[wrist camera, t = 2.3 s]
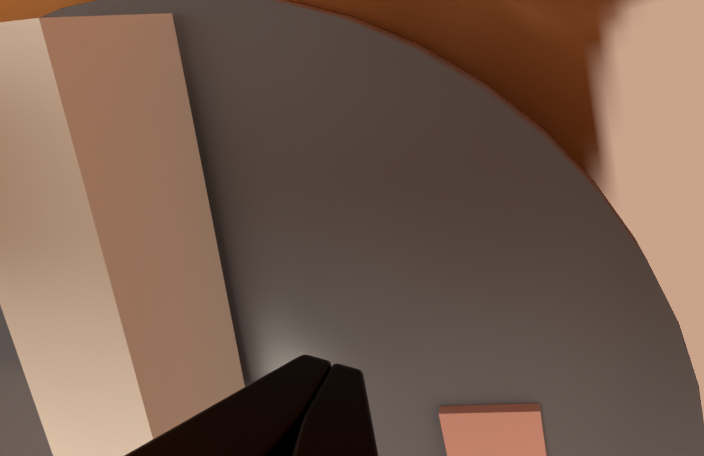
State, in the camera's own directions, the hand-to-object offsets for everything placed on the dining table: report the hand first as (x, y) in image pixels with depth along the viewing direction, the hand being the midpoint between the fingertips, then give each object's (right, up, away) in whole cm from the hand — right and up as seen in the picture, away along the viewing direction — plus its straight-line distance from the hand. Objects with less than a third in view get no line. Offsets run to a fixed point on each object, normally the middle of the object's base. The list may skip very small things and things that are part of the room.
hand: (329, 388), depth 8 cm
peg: (-4, -4, +8) cm, 10 cm away
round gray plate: (-3, -4, +10) cm, 11 cm away
